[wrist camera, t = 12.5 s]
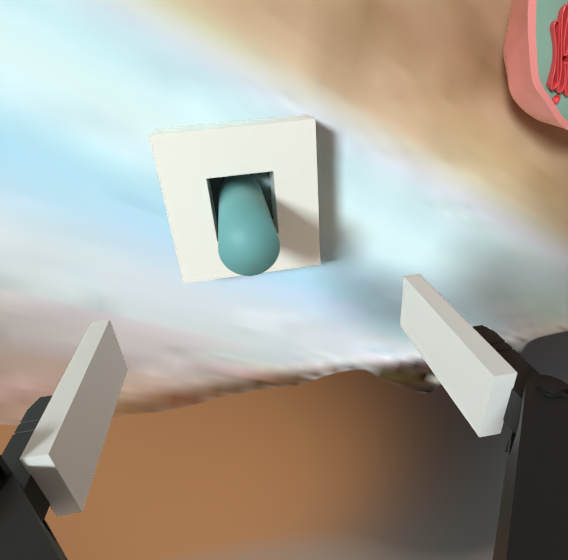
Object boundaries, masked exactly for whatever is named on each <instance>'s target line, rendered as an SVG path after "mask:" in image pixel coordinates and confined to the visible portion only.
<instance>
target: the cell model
mask: <svg viewBox="0 0 568 560" xmlns="http://www.w3.org/2000/svg"><path fill="white" fill-rule="evenodd" d="M503 58H504V64H505V68H506V73H507V80H508V88H509V91H510V94H511V95H512V97H513V99H514V101H515V102H516V103H517V104H518V105H519V107H520V108H521V109H522V110H524V111H525V112H526V113H527V114H528V115H530V116H532V117H533V118H535V119H537V120H538V121H540V122H544V123H547V124H550V125H554V126H557V127H560V128H563V129H566V130H568V0H512V1H511V8H510V15H509V21H508V26H507V31H506V35H505V40H504V45H503Z"/></svg>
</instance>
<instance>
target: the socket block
mask: <svg viewBox="0 0 568 560" xmlns="http://www.w3.org/2000/svg"><path fill="white" fill-rule="evenodd" d="M149 138H150V143H151V147H152V151H153V155H154V160H155V164H156V168H157V172H158V177H159V181H160V185H161V190H162V194H163V198H164V202H165V207H166V211H167V215H168V219H169V224H170V228H171V232H172V237H173V241H174V245H175V249H176V254H177V258H178V262H179V266H180V271H181V275H182V279H183V283H190V282H198V281H205V280H212V279H220V278H227V277H234V276H242V275H239V274H236V273H234V272H232V271H231V270H229V269H228V268H227V267H226V266H225V265H224V264H223V262H222V261H221V259H220V256H219V253H218V225H217V220H216V214H215V208H214V202H213V196H212V190H211V184H210V179H209V178H216V177H225V176H234V175H243V174H252V173H261V172H269V177H270V188H271V198H272V209H273V219H272V221H273V224H274V226H275V229H276V232H277V235H278V238H279V241H280V252H279V256H278V258H277V260H276V262H275V263H274V264H273V265H272V266H271V267H270V268H269V269H268V270H266V271H265V272H271V271H278V270H286V269H293V268H300V267H307V266H315V265H321V264H320V235H319V207H318V178H317V150H316V121H315V118H313V117H311V116H308V115H306V114H301V115H291V116H281V117H271V118H261V119H251V120H241V121H231V122H221V123H211V124H201V125H191V126H180V127H170V128H160V129H156V130H155V131H154V132H152V133H151V134H150V135H149ZM263 273H264V272H263Z"/></svg>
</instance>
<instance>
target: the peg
mask: <svg viewBox="0 0 568 560" xmlns="http://www.w3.org/2000/svg"><path fill="white" fill-rule="evenodd" d="M279 252H280V241H279V238H278V235H277V232H276V229H275V226H274V224H273V221H272V218H271V215H270V212H269V209H268V207H267V204H266V201H265V198H264V195H263V192H262V190H261V187H260V185H259V183H258V181H257V180H256V179H255V178H254V177H252V176H251V175H249V174H243V175H234V176H228V177H227V178H225V179H224V181H223V182H222V183H221V186H220V189H219V218H218V253H219V256H220V259H221V261H222V262H223V264H224V265H225V266H226V267H227V268H228V269H229V270H231V271H232V272H234V273H236V274H239V275H244V276H253V275H258V274H261V273H263V272H265V271H266V270H268V269H269V268H270V267H271V266H272V265H273V264H274V263H275V262H276V260H277V258H278V256H279Z"/></svg>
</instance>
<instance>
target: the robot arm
mask: <svg viewBox="0 0 568 560" xmlns="http://www.w3.org/2000/svg"><path fill="white" fill-rule="evenodd" d="M400 326H401V327H402V329H403V330H404V332H405V333H406V335H407V336H408V337H409V339H410V340H411V342H412V343H413V344H414V346H415V347H416V349H417V350H418V351H419V353H420V354H421V356H422V357H423V358H424V360H425V361H426V363H427V364H428V366H429V367H430V368H431V370H432V371H433V373H434V374H435V375H436V377H437V378H438V380H439V381H440V382H441V384H442V385H443V387H444V388H445V390H446V391H447V392H448V394H449V395H450V397H451V398H452V399H453V401H454V402H455V404H456V405H457V406H458V408H459V409H460V411H461V412H462V413H463V415H464V416H465V418H466V419H467V421H468V422H469V423H470V425H471V426H472V428H473V429H474V430H475V432H476V433H477V435H478V436H479V437H483V436H489V435H494V434H499V433H501V429H502V426H503V422H504V421H505V423H506V424H507V425H508V426H509V428H510V429H511V430H512V431H511V434H510V438H509V441H508V444H507V447H506V452H507V460H506V467H505V475H504V482H503V490H502V496H501V504H500V511H499V518H498V525H497V532H496V539H495V547H494V554H493V560H568V384H566V383H565V382H563V381H562V380H560V379H557V378H555V377H552V376H547V375H540V374H539V373H538V372H537V371H536V370H535V369H534V368H533V367H531V365H530V364H528V363H527V362H526V361H525V360H524V359H523V358H522V357H521V356H520V355H519V354H518V353H517V352H516V351H515V350H512V347H511V346H509V345H508V344H507V343H505V341H504V340H503V339H502V338H501V337H500V336H499V335H498V334H497V333H496V332H494V331H492V330H490V329H488V328H487V327H485V326H483V325H481V326H474V327H472V326H471V325H470V324H469V323H468V322H467V321H466V320H465V319H464V318H463V317H462V316H461V315H460V314H459V313H458V312H457V311H456V310H455V309H454V308H453V307H452V306H451V305H450V304H449V303H448V302H447V301H446V300H445V299H444V298H443V297H442V296H441V295H440V294H439V293H438V292H437V291H436V290H435V289H434V288H433V287H432V286H431V285H430V284H429V283H428V282H427V281H426V280H425V279H424V278H423V277H422V276H421V275H420V274H416V275H409V276H404V281H403V294H402V306H401V319H400ZM127 369H128V368H127V365H126V362H125V360H124V357H123V354H122V352H121V349H120V346H119V343H118V341H117V338H116V335H115V333H114V330H113V327H112V325H111V322H110V320H103V321H97V322H91V324H90V326H89V327H88V329H87V331H86V333H85V335H84V337H83V339H82V341H81V343H80V345H79V346H78V348H77V350H76V352H75V354H74V356H73V358H72V360H71V362H70V364H69V366H68V367H67V369H66V371H65V373H64V375H63V377H62V379H61V381H60V383H59V385H58V386H57V388H56V390H55V392H54V394H53V395H52V396H46V397H40V398H39V399H38V400H37V401H36V402H35V403H34V404H33V405H32V406H31V407H30V408H29V409H28V410H27V412H26V413H25V415H24V417H23V419H22V420H21V424H19V426H18V427H17V429H16V431H15V435H13V436H12V438H11V439H10V442H9V443H8V445H7V446H6V448H5V450H4V452H3V454H2V455H0V560H68V559H67V558H66V556H65V554H64V552H63V551H62V549H61V547H60V545H59V543H58V542H57V540H56V538H55V536H54V534H53V533H52V531H51V529H50V527H49V526H48V524H47V522H46V521H45V519H44V518H45V516H46V513H47V511H48V508H49V506H50V507H51V509H52V510H53V512H54V513H55V515H56V516H62V515H67V514H72V513H78V512H82V511H83V507H84V504H85V501H86V498H87V495H88V491H89V489H90V485H91V482H92V479H93V476H94V473H95V470H96V467H97V463H98V460H99V457H100V454H101V451H102V448H103V445H104V442H105V438H106V435H107V432H108V429H109V425H110V423H111V420H112V416H113V413H114V410H115V407H116V404H117V401H118V398H119V394H120V391H121V388H122V385H123V382H124V379H125V376H126V372H127Z"/></svg>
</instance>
